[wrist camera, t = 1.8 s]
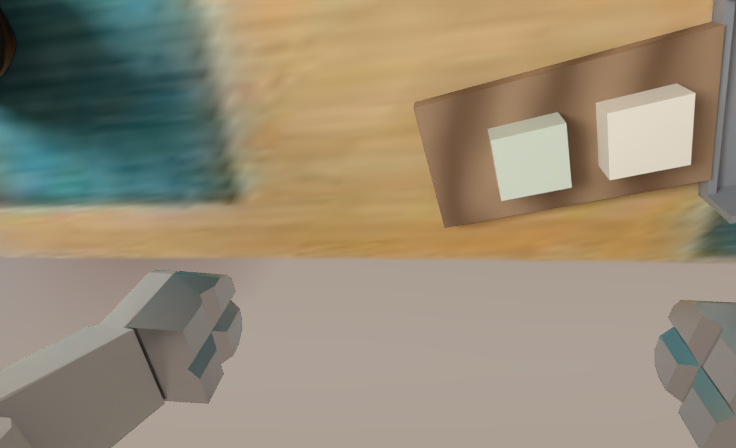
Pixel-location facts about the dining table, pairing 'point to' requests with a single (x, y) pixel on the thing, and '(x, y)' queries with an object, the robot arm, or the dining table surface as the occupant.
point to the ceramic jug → (6, 44)
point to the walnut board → (568, 123)
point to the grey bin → (724, 121)
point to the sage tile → (531, 156)
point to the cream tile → (645, 131)
